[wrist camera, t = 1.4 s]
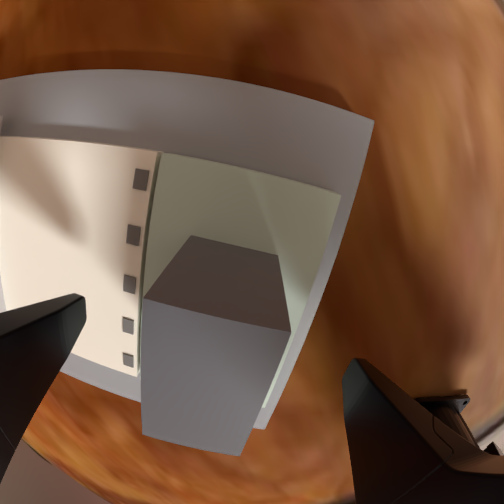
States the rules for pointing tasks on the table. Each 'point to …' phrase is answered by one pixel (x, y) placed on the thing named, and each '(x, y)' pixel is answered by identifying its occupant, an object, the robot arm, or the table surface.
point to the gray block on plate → (223, 295)
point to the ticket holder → (144, 190)
